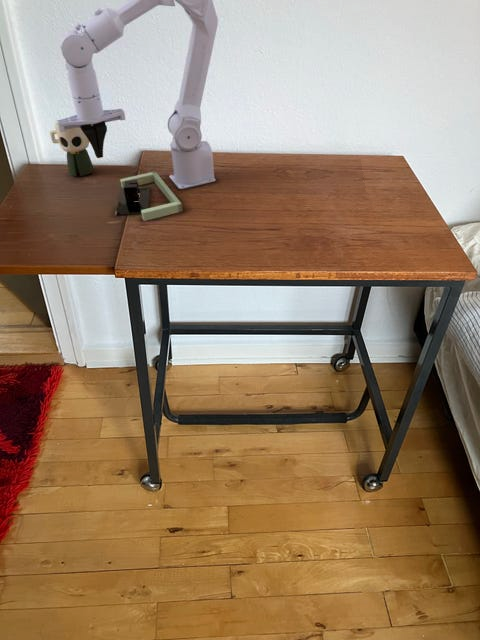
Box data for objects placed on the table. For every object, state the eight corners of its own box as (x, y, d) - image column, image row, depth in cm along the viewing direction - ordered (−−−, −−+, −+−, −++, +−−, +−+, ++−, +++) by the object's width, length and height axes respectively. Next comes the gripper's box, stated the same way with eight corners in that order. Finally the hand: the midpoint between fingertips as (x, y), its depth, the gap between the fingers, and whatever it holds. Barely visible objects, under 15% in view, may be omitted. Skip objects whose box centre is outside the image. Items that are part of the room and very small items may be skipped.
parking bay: (156, 178, 134) (155, 171, 132) (182, 211, 120) (181, 203, 119) (121, 186, 131) (119, 179, 130) (144, 221, 118) (142, 213, 116)
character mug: (57, 179, 135) (43, 128, 127) (64, 167, 141) (51, 117, 132) (99, 178, 135) (88, 126, 127) (105, 166, 141) (94, 116, 132)
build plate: (147, 214, 120) (144, 195, 117) (115, 216, 120) (111, 197, 117) (150, 188, 130) (147, 170, 127) (120, 190, 129) (116, 172, 126)
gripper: (114, 84, 119) (125, 143, 127) (48, 95, 114) (64, 156, 123) (123, 92, 114) (133, 154, 122) (54, 105, 109) (70, 167, 118)
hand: (99, 156), depth 122 cm, fingers closed
